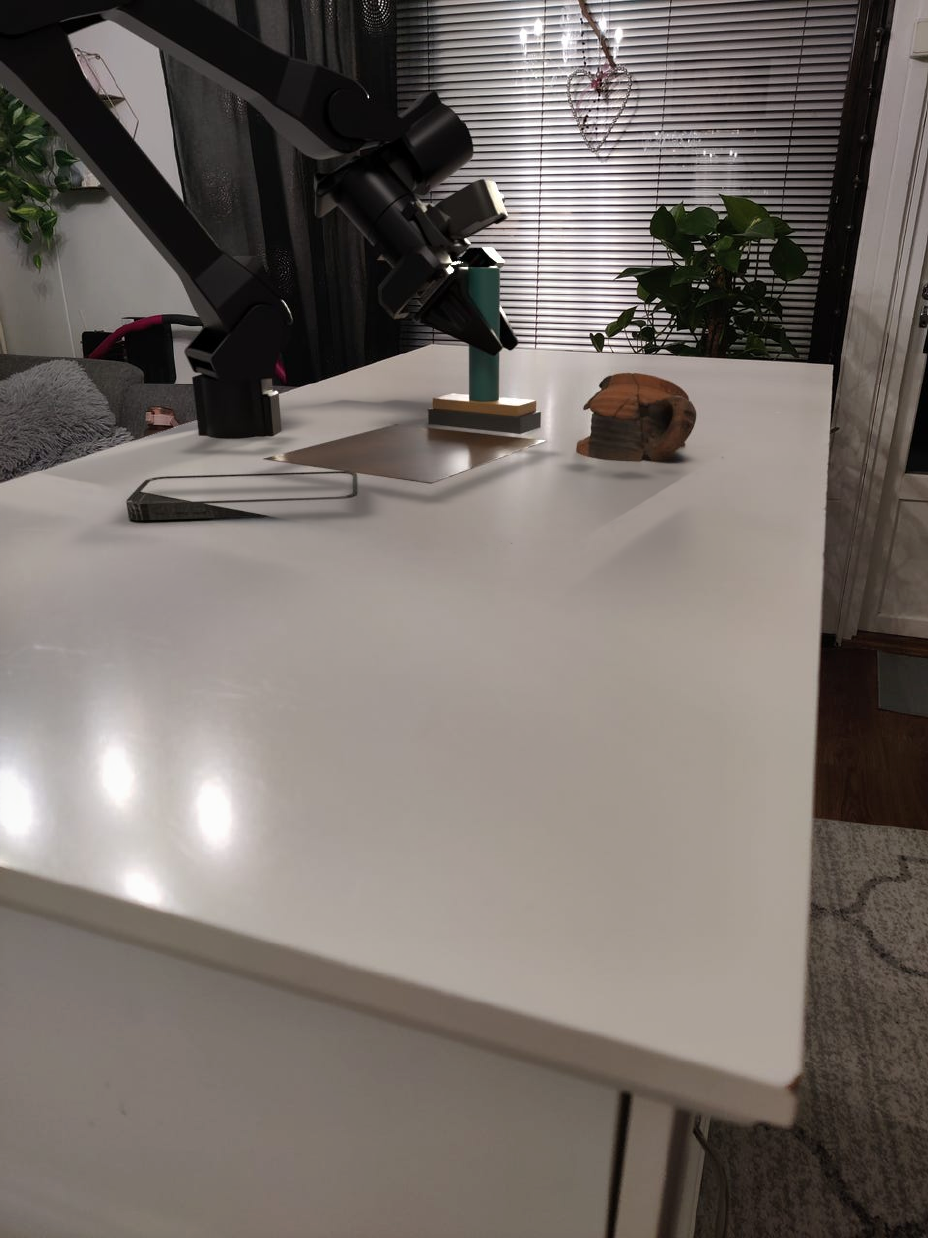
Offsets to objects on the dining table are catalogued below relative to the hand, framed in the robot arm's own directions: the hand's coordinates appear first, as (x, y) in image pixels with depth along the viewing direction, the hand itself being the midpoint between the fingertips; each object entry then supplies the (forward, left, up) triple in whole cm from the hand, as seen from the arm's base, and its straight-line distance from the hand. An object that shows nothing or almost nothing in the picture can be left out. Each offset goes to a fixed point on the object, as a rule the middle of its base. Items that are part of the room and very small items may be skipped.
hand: (507, 349), depth 80 cm
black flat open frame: (-16, -26, -8) cm, 32 cm away
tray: (-7, -12, -8) cm, 16 cm away
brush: (-2, 0, -7) cm, 7 cm away
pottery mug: (+12, -11, -8) cm, 18 cm away
